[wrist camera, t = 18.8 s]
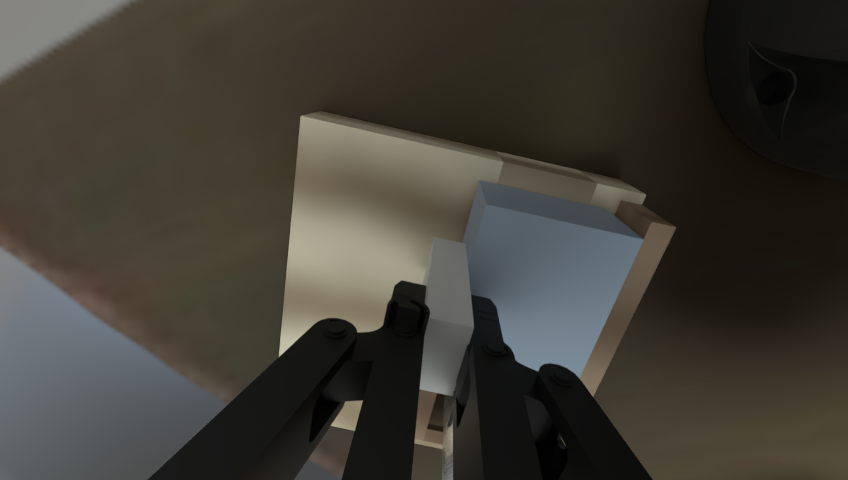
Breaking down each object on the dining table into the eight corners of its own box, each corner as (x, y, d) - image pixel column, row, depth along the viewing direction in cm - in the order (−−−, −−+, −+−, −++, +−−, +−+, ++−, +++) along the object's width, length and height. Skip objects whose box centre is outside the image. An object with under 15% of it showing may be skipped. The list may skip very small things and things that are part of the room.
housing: (479, 180, 18) (486, 204, 15) (606, 208, 18) (643, 239, 15) (439, 324, 21) (437, 373, 18) (549, 348, 21) (568, 401, 18)
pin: (450, 345, 25) (451, 552, 14) (496, 356, 25) (532, 569, 14) (439, 381, 26) (431, 598, 15) (482, 391, 27) (506, 614, 15)
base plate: (321, 111, 20) (272, 122, 15) (620, 179, 21) (682, 215, 15) (291, 379, 27) (251, 456, 22) (517, 427, 28) (535, 515, 22)
